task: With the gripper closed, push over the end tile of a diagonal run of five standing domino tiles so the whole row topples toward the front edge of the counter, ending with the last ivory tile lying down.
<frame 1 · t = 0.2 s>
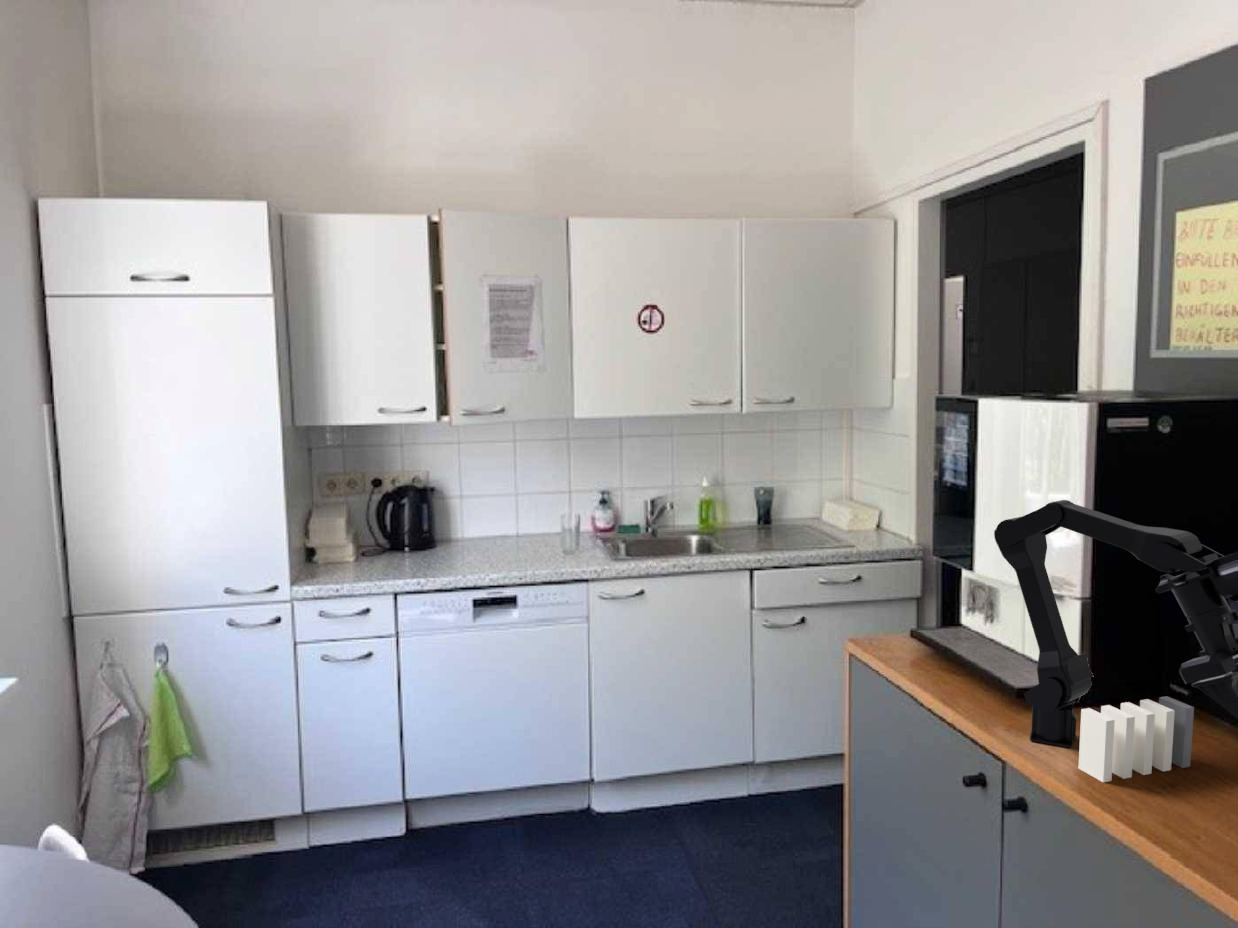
domino 2: (1153, 763, 143), on the worktop
domino 5: (1094, 774, 140), on the worktop
domino 1: (1172, 760, 144), on the worktop
domino 4: (1114, 770, 141), on the worktop
domino 3: (1134, 767, 142), on the worktop
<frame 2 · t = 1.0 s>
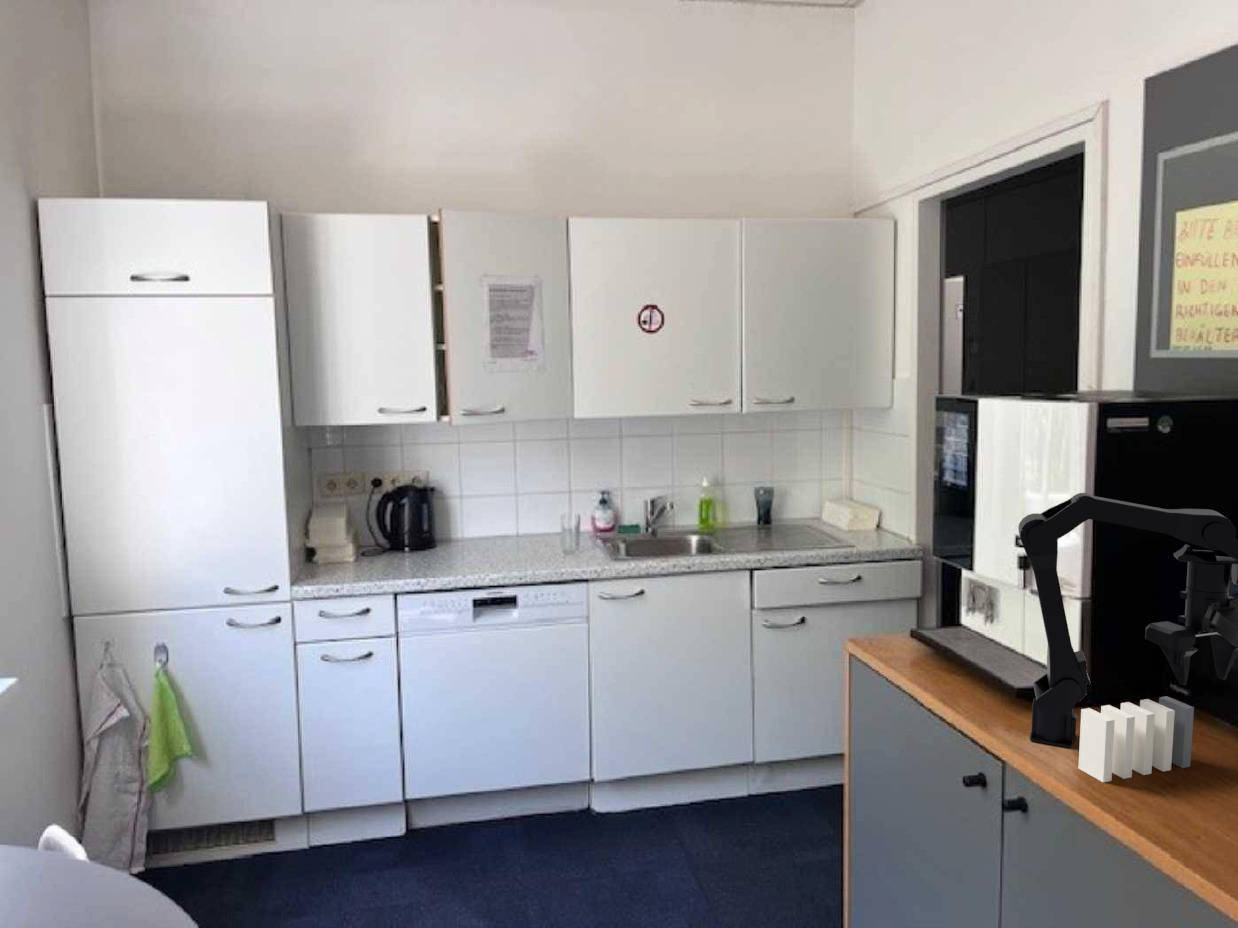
hand: (1202, 681, 144), 13 cm above the worktop, tool pointing down, fingers open, 8 cm apart
nothing on the worktop moved.
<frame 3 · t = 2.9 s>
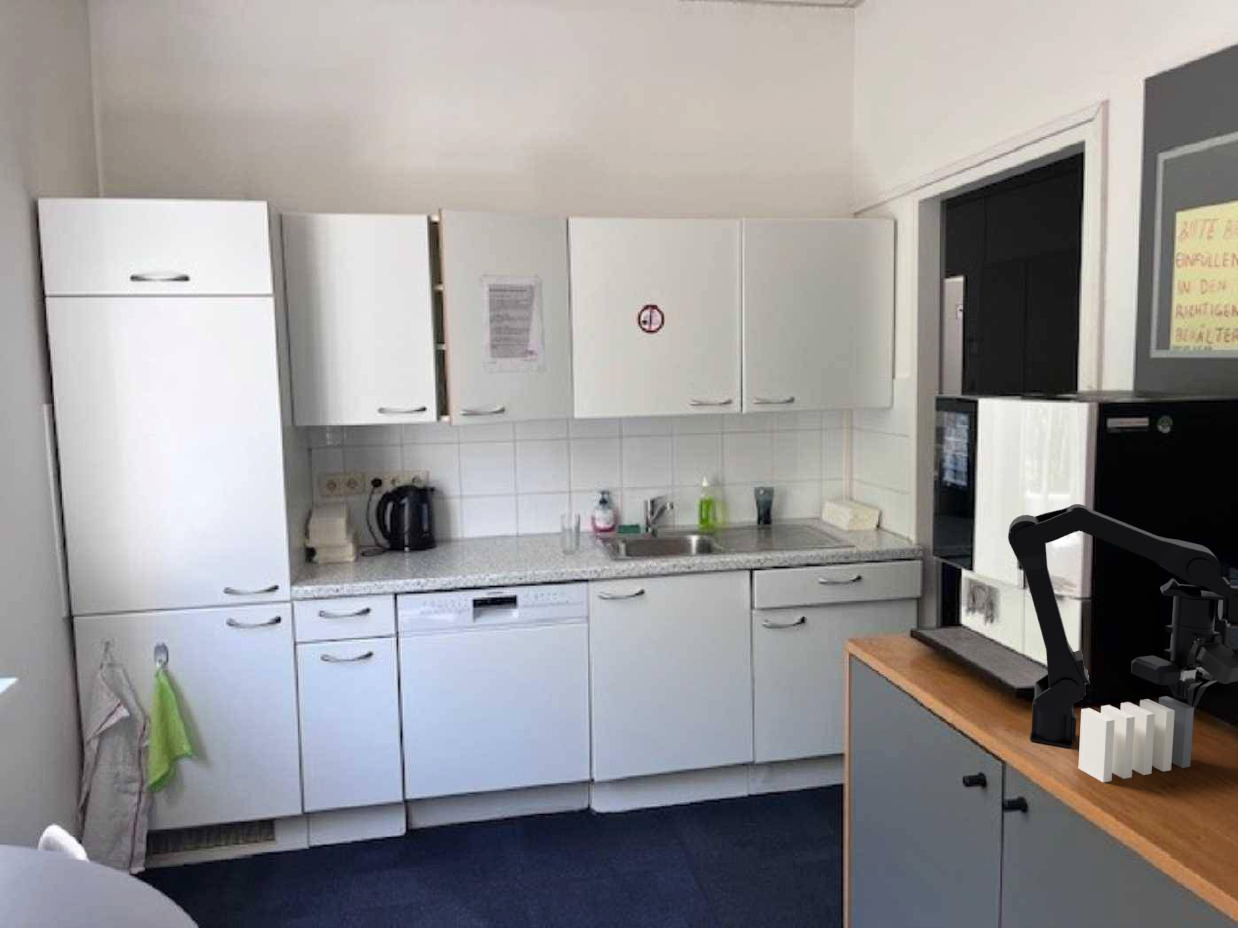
hand: (1186, 715, 144), 7 cm above the worktop, tool pointing down, fingers closed
domino 1: (1172, 760, 144), on the worktop, touching gripper
everything else where it was.
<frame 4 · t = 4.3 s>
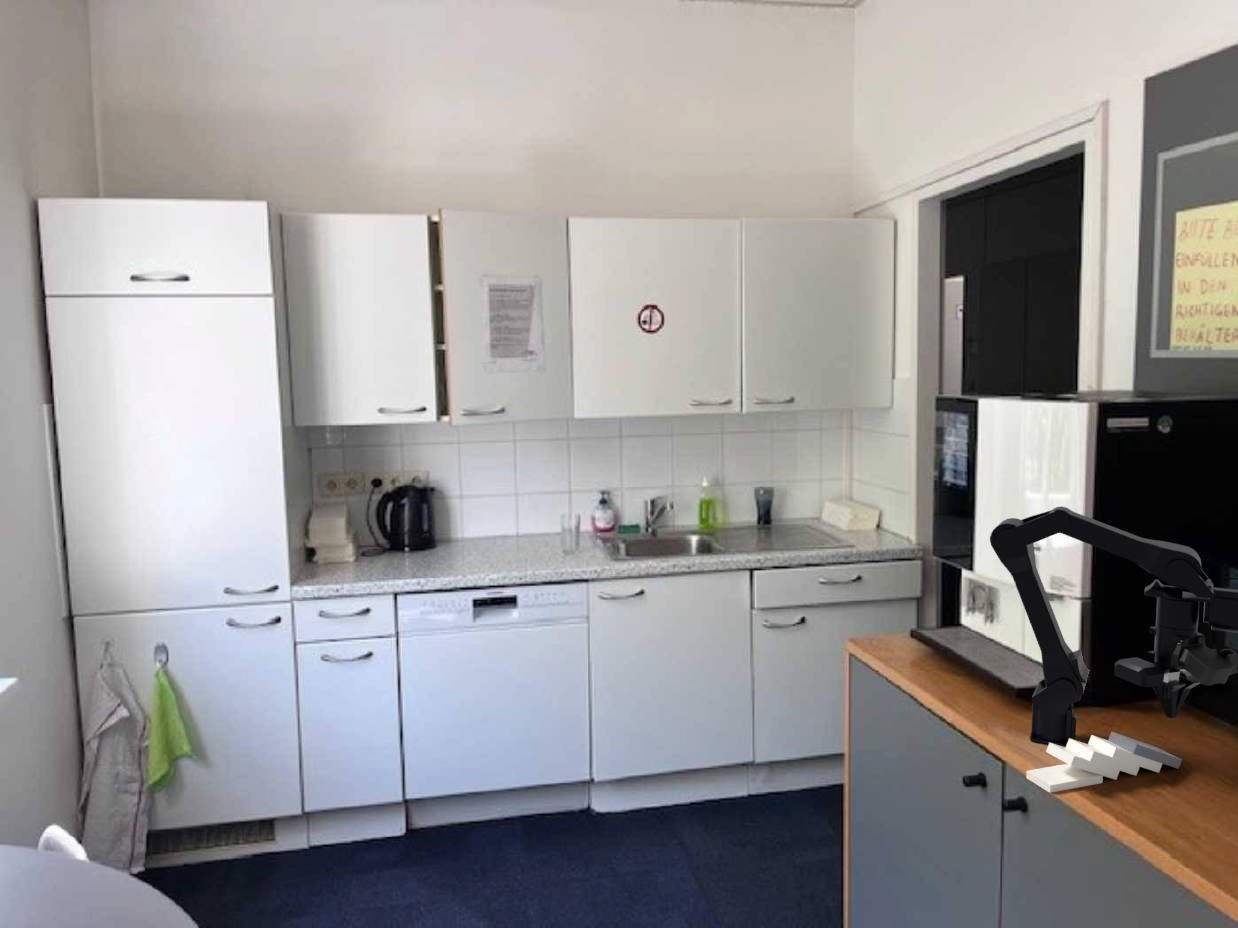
hand: (1170, 717, 143), 8 cm above the worktop, tool pointing down, fingers closed
domino 2: (1147, 761, 143), point 1 cm above the worktop, tilted 67°, touching domino 1, domino 3
domino 5: (1089, 773, 140), on the worktop, tilted 90°, touching domino 4
domino 1: (1166, 757, 144), point 1 cm above the worktop, tilted 67°, touching domino 2
domino 4: (1104, 767, 141), point 1 cm above the worktop, tilted 67°, touching domino 3, domino 5
domino 3: (1124, 764, 142), point 1 cm above the worktop, tilted 67°, touching domino 2, domino 4
everything else where it was.
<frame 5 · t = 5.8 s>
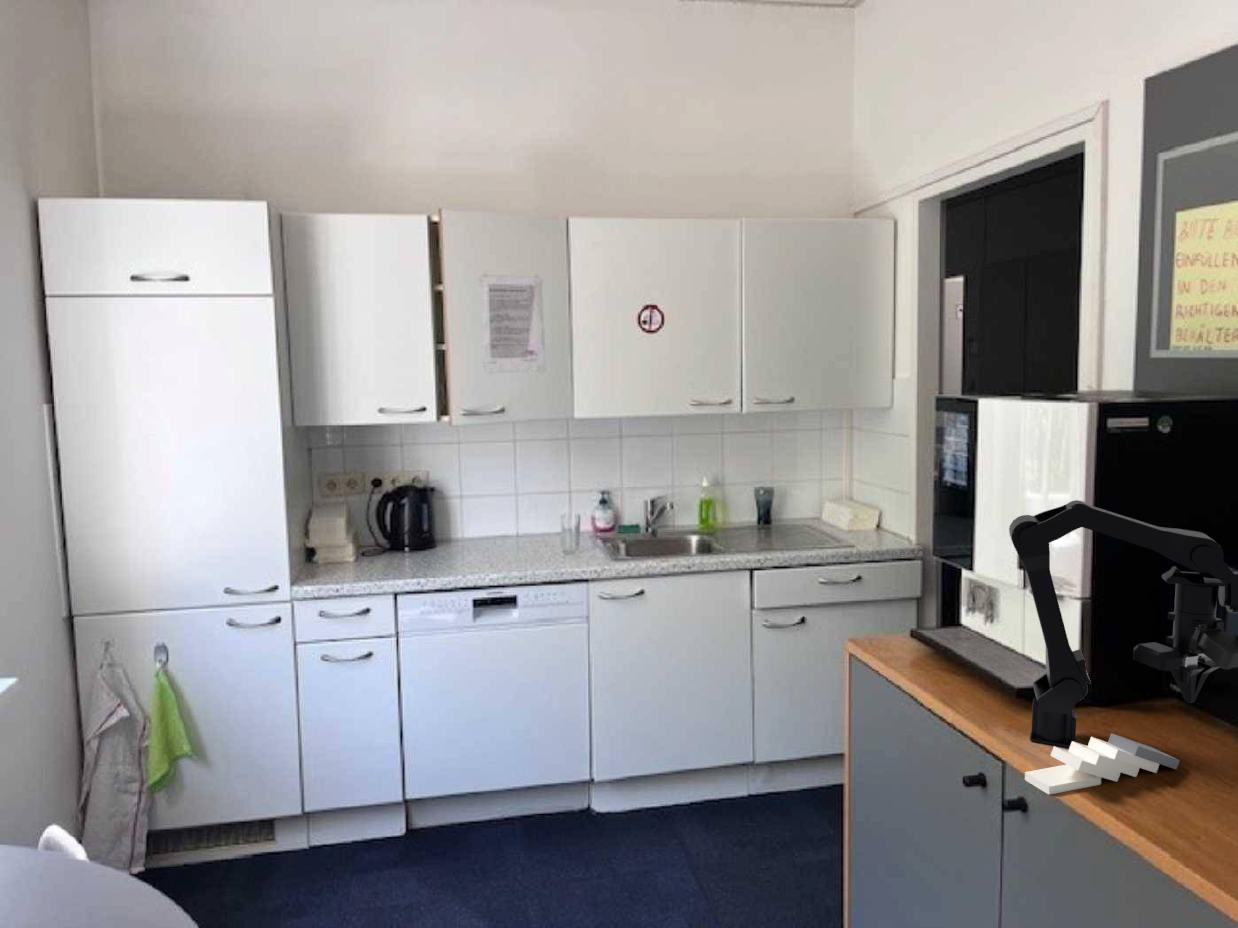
hand: (1189, 701, 145), 9 cm above the worktop, tool pointing down, fingers closed
domino 2: (1144, 761, 142), point 1 cm above the worktop, tilted 67°, touching domino 1
domino 5: (1088, 774, 139), on the worktop, tilted 90°
domino 1: (1164, 758, 144), point 1 cm above the worktop, tilted 67°, touching domino 2
domino 4: (1104, 769, 140), point 1 cm above the worktop, tilted 67°, touching domino 3
domino 3: (1123, 765, 141), point 1 cm above the worktop, tilted 67°, touching domino 4
everything else where it was.
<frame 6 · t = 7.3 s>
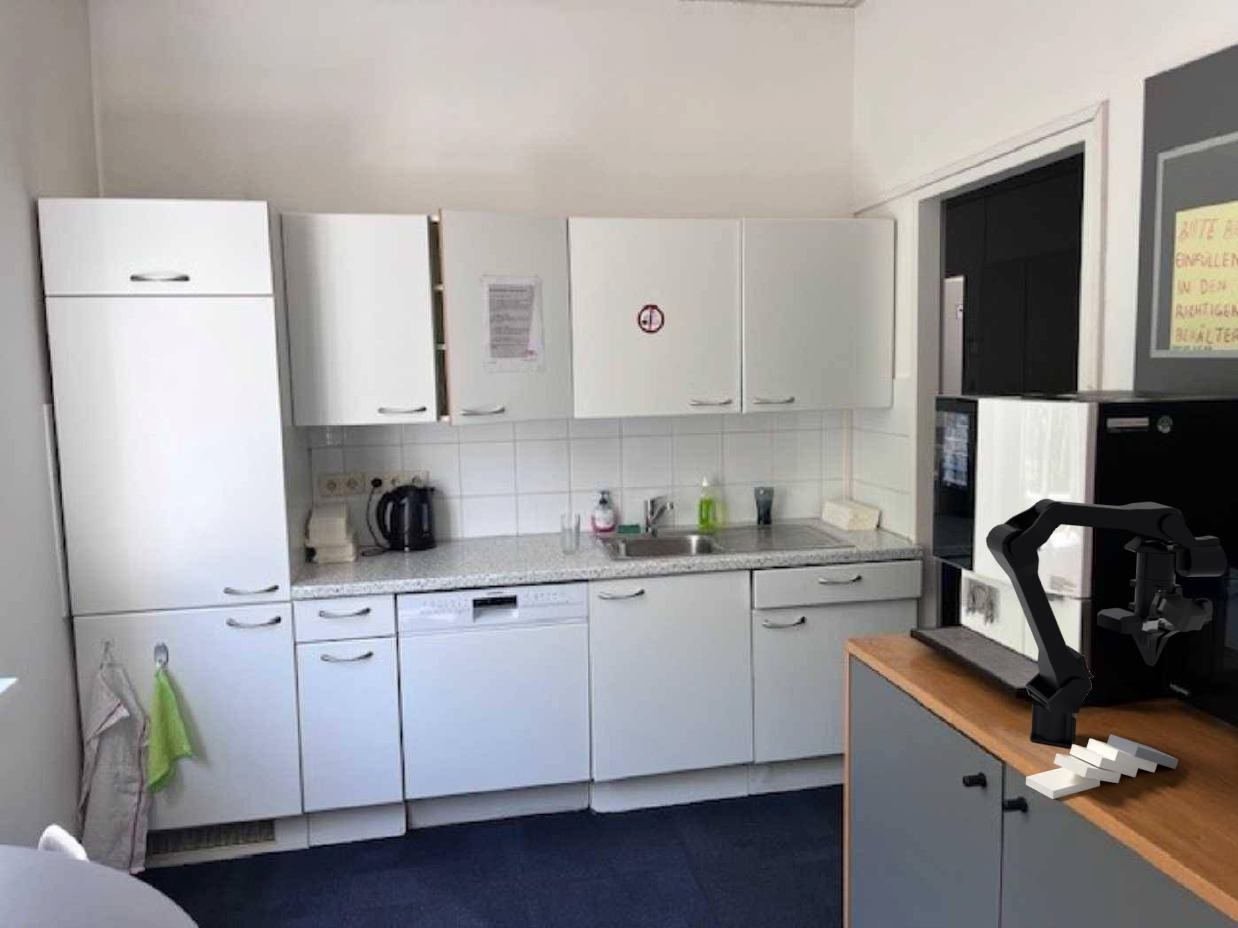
hand: (1150, 664, 152), 13 cm above the worktop, tool pointing down, fingers closed
domino 2: (1141, 761, 143), point 1 cm above the worktop, tilted 67°, touching domino 1, domino 3
domino 5: (1086, 775, 139), on the worktop, tilted 90°, touching domino 4
domino 4: (1104, 771, 139), point 1 cm above the worktop, tilted 70°, touching domino 3, domino 5
domino 3: (1121, 765, 141), point 1 cm above the worktop, tilted 67°, touching domino 2, domino 4
everything else where it was.
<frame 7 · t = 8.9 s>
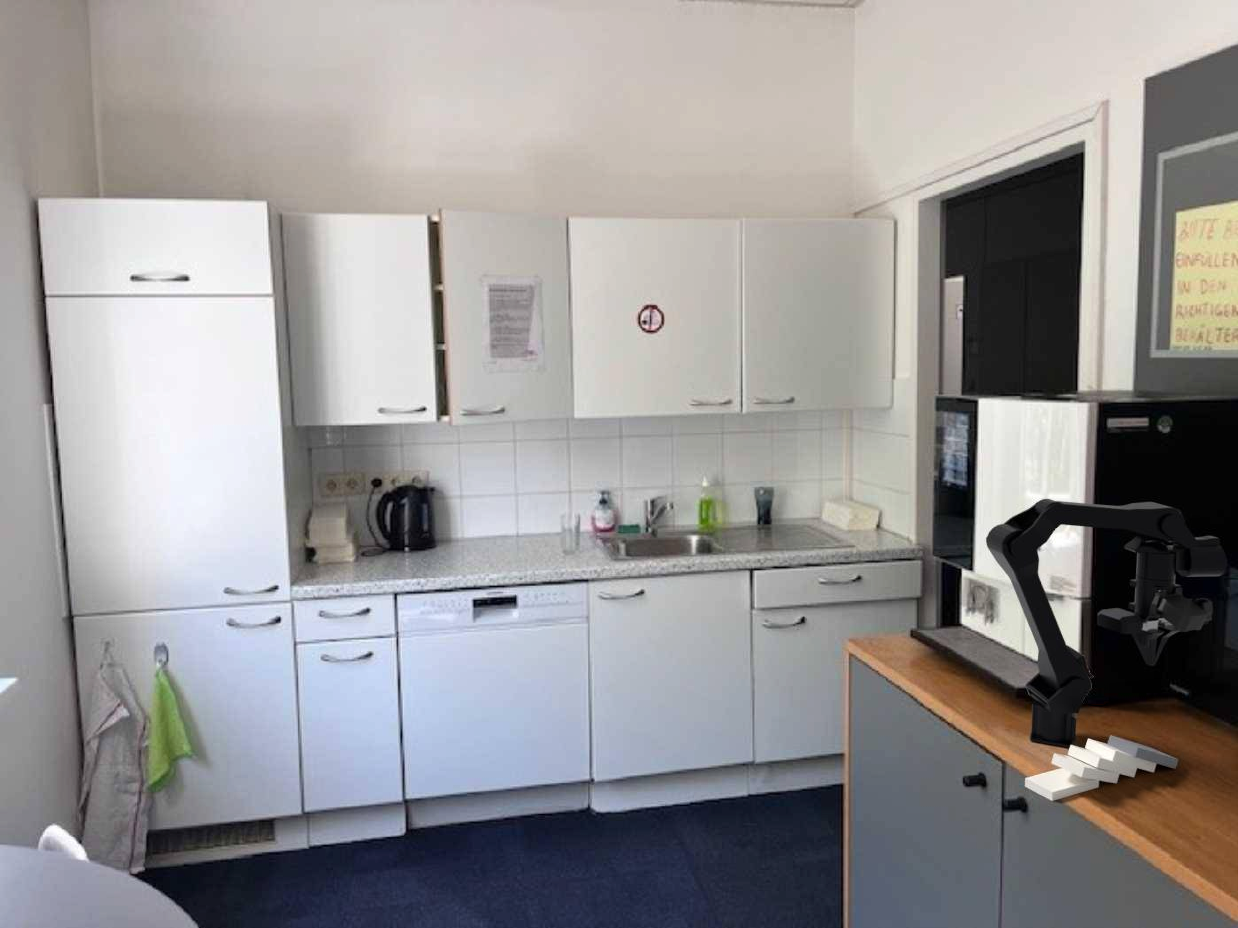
hand: (1150, 664, 152), 13 cm above the worktop, tool pointing down, fingers closed
at the end: domino 5 tilted 90°; domino 1 tilted 68°; the gripper is holding nothing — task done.
